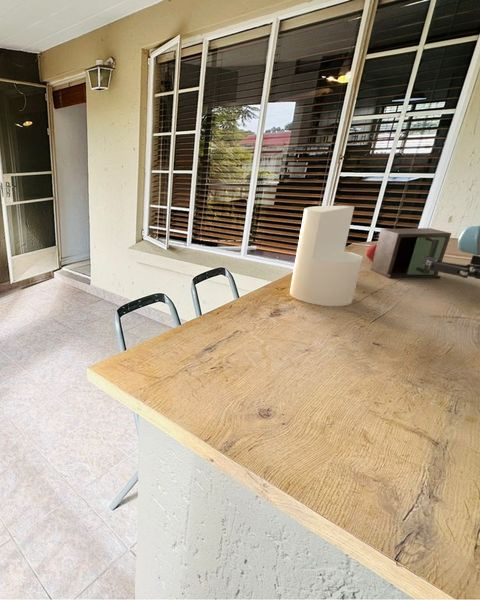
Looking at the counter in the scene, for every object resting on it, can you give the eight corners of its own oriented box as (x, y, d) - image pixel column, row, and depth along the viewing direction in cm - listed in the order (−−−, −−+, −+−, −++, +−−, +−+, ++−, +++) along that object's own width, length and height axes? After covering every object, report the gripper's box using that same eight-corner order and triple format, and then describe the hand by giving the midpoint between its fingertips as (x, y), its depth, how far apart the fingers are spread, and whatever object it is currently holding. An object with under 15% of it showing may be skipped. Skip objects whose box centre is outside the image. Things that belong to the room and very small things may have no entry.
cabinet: (440, 278, 124) (455, 233, 119) (389, 278, 127) (401, 234, 122) (417, 269, 135) (429, 228, 129) (370, 269, 138) (380, 229, 132)
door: (444, 278, 120) (457, 239, 115) (417, 278, 122) (429, 239, 117) (432, 274, 125) (444, 236, 121) (406, 274, 127) (417, 236, 122)
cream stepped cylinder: (278, 294, 118) (292, 209, 108) (309, 284, 125) (325, 204, 115) (332, 310, 104) (354, 214, 94) (364, 298, 111) (387, 208, 101)
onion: (362, 261, 149) (367, 242, 146) (366, 258, 152) (370, 240, 149) (379, 263, 144) (384, 244, 142) (383, 261, 148) (388, 242, 145)
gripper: (450, 291, 99) (401, 270, 118) (559, 292, 94) (489, 270, 113) (459, 265, 96) (407, 248, 115) (572, 265, 91) (498, 247, 111)
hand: (448, 259), depth 114 cm, fingers open, 13 cm apart
